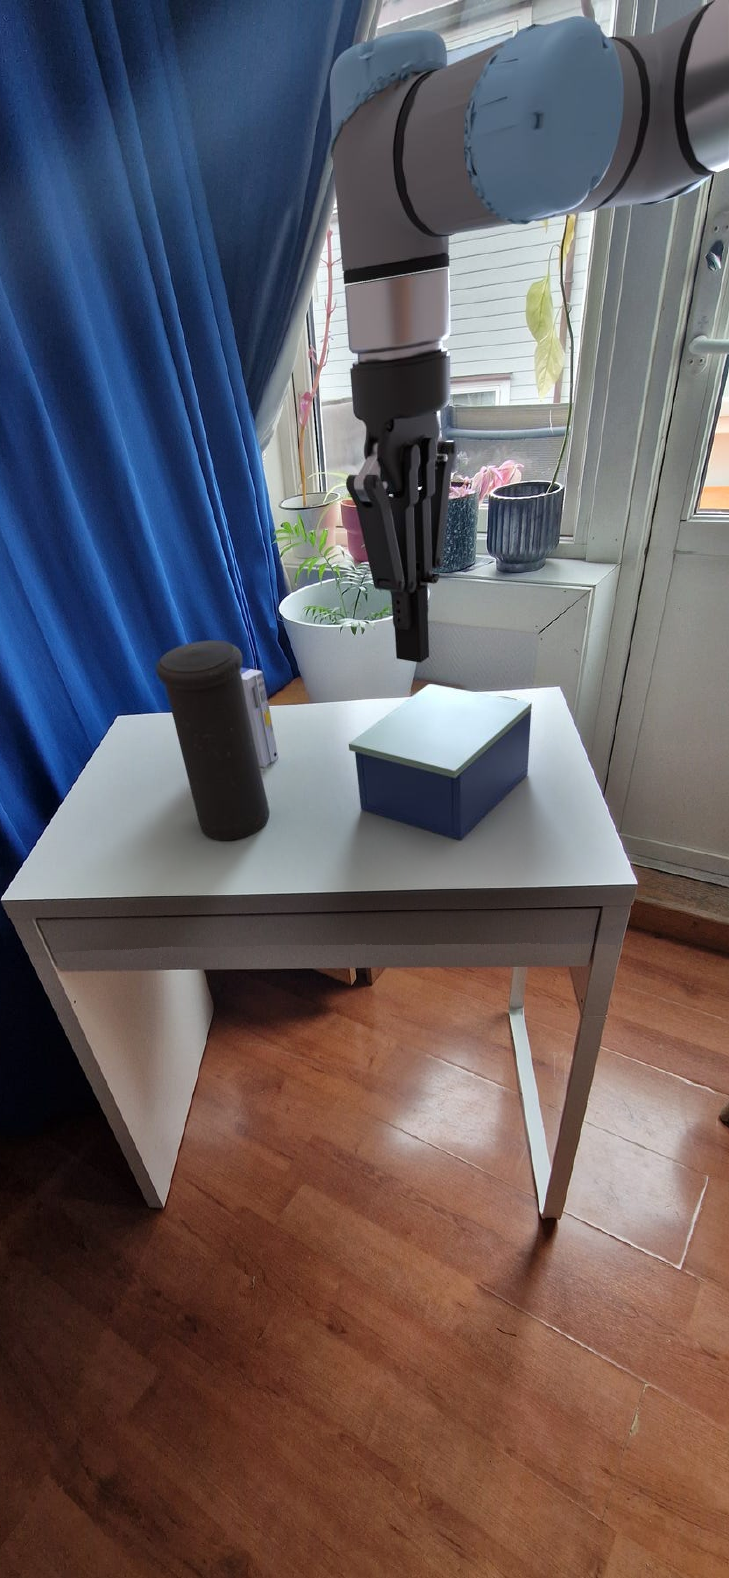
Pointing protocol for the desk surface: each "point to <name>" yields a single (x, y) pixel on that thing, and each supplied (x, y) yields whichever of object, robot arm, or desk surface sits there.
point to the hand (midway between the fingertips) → (412, 657)
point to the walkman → (259, 716)
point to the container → (216, 737)
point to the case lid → (441, 729)
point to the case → (445, 786)
